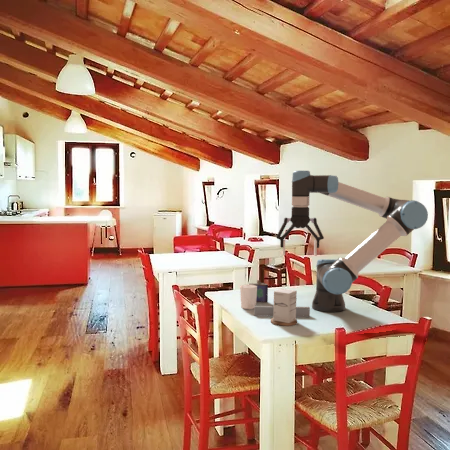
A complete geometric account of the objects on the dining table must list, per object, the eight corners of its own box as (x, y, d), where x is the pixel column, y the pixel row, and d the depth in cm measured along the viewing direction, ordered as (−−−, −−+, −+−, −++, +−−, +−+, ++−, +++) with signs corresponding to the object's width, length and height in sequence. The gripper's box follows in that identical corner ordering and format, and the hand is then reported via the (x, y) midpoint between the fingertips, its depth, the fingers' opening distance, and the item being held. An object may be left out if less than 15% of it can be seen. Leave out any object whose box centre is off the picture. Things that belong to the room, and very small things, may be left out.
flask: (248, 301, 243) (248, 280, 242) (249, 300, 246) (249, 279, 245) (267, 303, 241) (267, 281, 240) (268, 301, 244) (268, 280, 243)
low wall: (309, 315, 218) (309, 306, 218) (309, 316, 217) (309, 307, 217) (254, 314, 219) (254, 306, 219) (254, 315, 218) (254, 306, 217)
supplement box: (272, 321, 207) (273, 291, 206) (280, 317, 213) (281, 287, 212) (288, 323, 203) (289, 293, 202) (296, 319, 209) (297, 290, 208)
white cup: (255, 309, 228) (255, 288, 227) (238, 309, 229) (238, 287, 229) (258, 305, 236) (258, 285, 235) (241, 304, 237) (241, 284, 236)
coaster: (299, 320, 211) (299, 318, 211) (293, 327, 201) (293, 325, 201) (274, 317, 215) (274, 315, 215) (267, 324, 205) (267, 322, 205)
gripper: (328, 206, 218) (326, 254, 220) (271, 205, 219) (270, 253, 221) (331, 207, 211) (329, 256, 212) (272, 206, 211) (271, 256, 213)
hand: (299, 255), depth 217 cm, fingers open, 13 cm apart
